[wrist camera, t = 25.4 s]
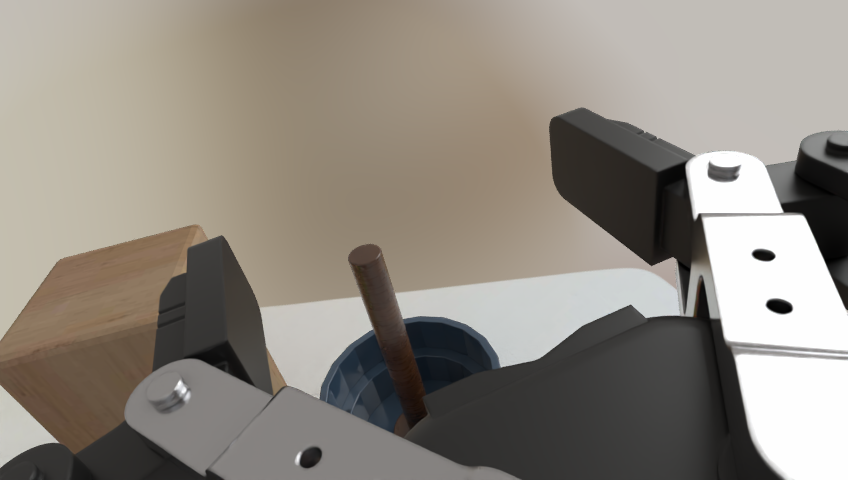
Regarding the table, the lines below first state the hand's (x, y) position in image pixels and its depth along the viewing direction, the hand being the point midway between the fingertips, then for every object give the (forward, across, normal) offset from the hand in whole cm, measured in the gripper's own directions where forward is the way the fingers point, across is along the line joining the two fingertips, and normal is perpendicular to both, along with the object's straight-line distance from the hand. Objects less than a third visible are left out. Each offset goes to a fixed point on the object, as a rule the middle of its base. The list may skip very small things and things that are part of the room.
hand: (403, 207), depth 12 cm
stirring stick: (+15, 0, +29) cm, 33 cm away
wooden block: (+20, +15, +30) cm, 39 cm away
